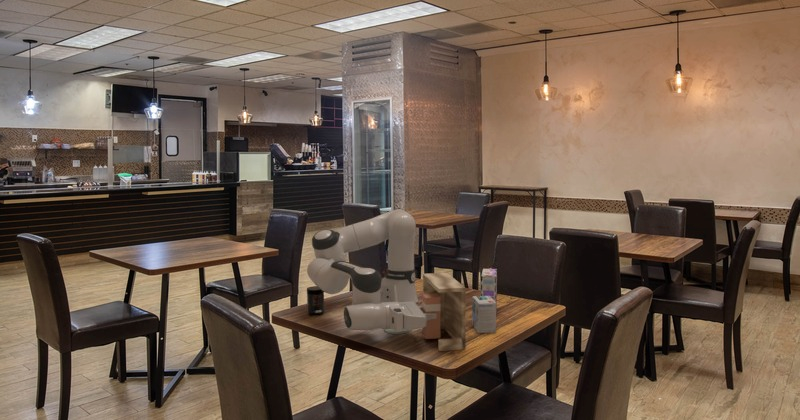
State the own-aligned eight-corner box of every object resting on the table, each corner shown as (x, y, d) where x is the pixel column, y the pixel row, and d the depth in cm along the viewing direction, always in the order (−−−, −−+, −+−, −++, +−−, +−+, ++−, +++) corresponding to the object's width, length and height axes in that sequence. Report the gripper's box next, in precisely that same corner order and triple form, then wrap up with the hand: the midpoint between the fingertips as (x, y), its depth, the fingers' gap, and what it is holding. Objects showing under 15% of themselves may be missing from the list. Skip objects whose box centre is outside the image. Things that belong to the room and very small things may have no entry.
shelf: (439, 351, 181) (438, 289, 179) (423, 329, 204) (422, 273, 202) (465, 349, 183) (465, 287, 181) (446, 327, 206) (446, 272, 204)
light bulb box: (471, 324, 210) (471, 295, 208) (489, 323, 210) (489, 295, 209) (477, 333, 199) (478, 303, 198) (496, 332, 199) (497, 302, 198)
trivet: (378, 331, 202) (378, 329, 202) (392, 324, 211) (392, 322, 211) (403, 335, 197) (403, 333, 197) (416, 327, 206) (416, 325, 206)
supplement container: (319, 310, 230) (319, 285, 229) (327, 314, 225) (326, 288, 224) (304, 313, 227) (303, 287, 225) (312, 317, 221) (311, 290, 220)
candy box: (495, 318, 217) (496, 275, 215) (480, 317, 218) (480, 275, 217) (497, 308, 231) (497, 268, 229) (482, 307, 232) (482, 267, 230)
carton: (425, 339, 190) (425, 297, 188) (422, 334, 195) (422, 294, 193) (440, 338, 190) (440, 297, 189) (436, 333, 195) (436, 293, 194)
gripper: (388, 315, 200) (427, 313, 202) (398, 333, 180) (441, 331, 182) (388, 298, 199) (426, 296, 202) (398, 314, 179) (441, 311, 182)
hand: (433, 312), depth 192 cm, fingers closed on carton, 5 cm apart
